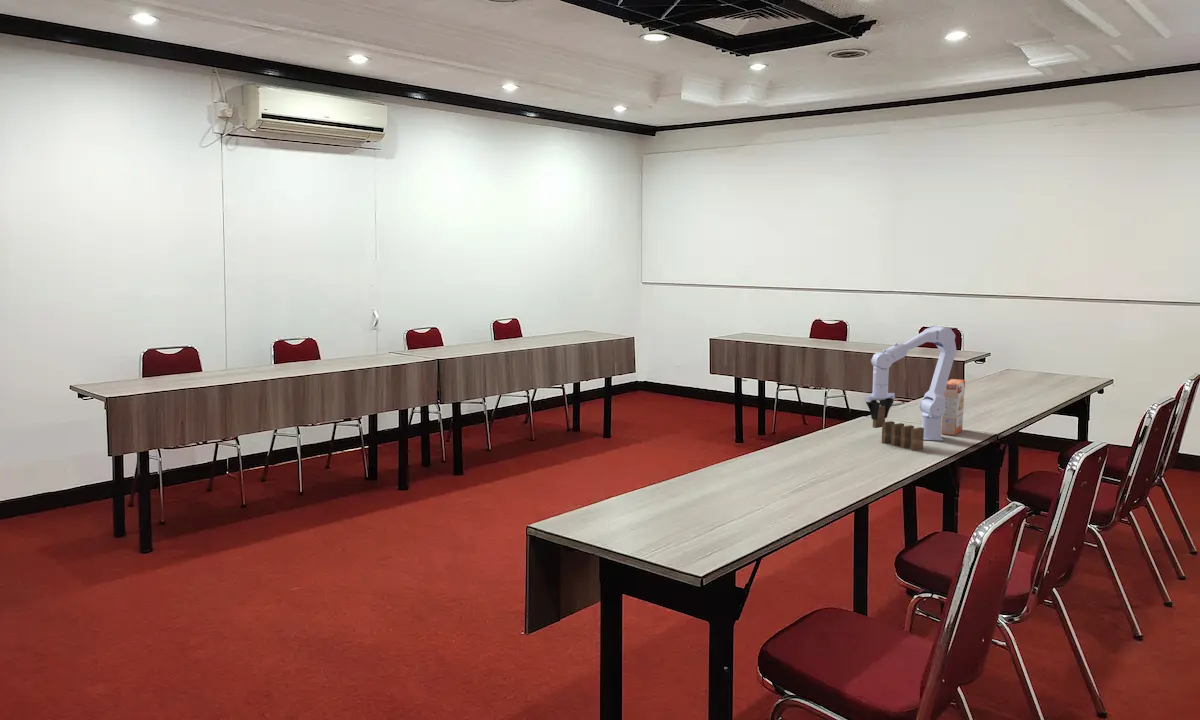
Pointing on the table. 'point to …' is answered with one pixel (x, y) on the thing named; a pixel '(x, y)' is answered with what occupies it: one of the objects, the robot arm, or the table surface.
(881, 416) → the domino
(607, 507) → the table surface
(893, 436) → the domino
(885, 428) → the domino
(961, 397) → the cracker box
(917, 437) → the domino
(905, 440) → the domino
